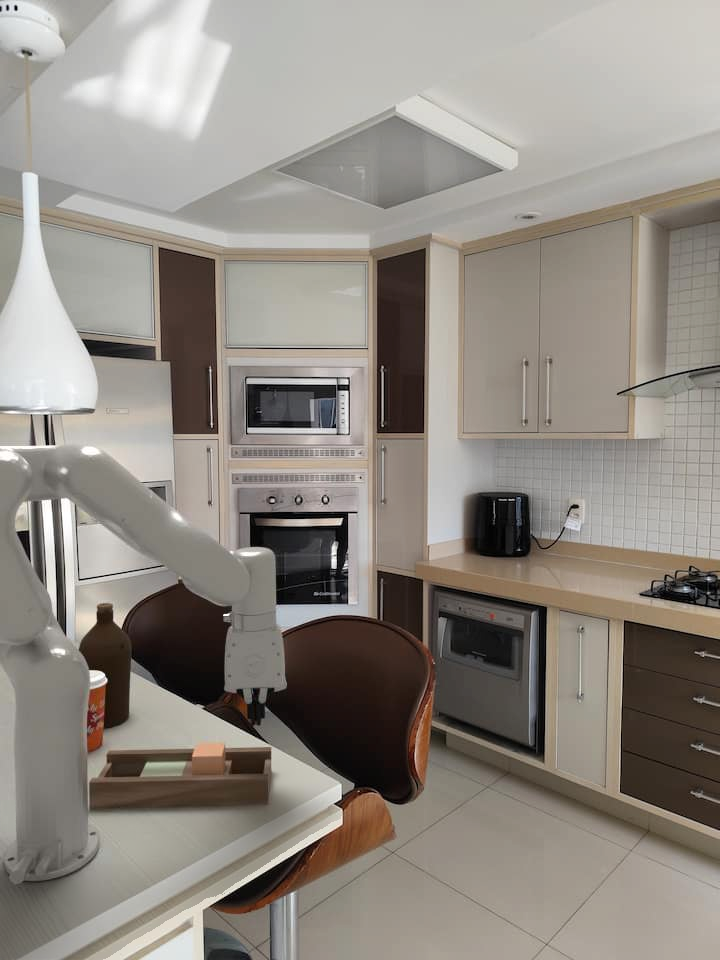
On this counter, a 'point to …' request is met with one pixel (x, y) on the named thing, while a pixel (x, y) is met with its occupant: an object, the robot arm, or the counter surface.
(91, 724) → the paper cup
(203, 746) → the block
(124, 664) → the olive oil
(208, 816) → the counter surface
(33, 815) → the robot arm
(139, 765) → the box
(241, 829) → the counter surface
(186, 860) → the counter surface
